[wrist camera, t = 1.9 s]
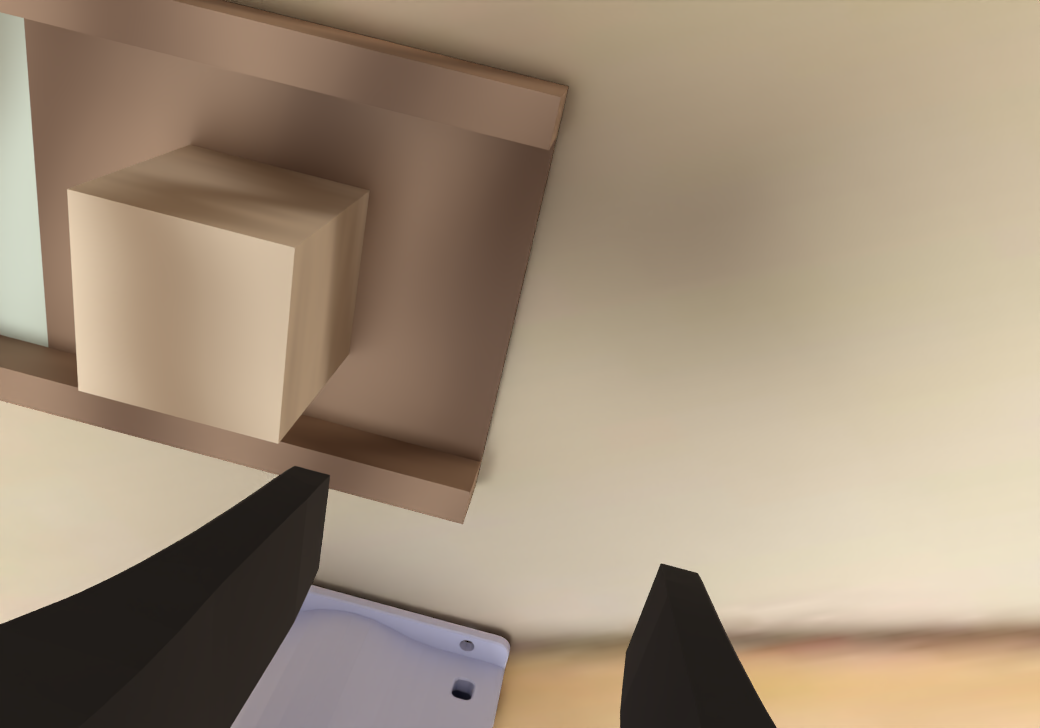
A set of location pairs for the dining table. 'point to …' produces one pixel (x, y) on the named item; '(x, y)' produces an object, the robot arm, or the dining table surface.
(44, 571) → the dining table surface
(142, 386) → the maple block
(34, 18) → the walled channel
